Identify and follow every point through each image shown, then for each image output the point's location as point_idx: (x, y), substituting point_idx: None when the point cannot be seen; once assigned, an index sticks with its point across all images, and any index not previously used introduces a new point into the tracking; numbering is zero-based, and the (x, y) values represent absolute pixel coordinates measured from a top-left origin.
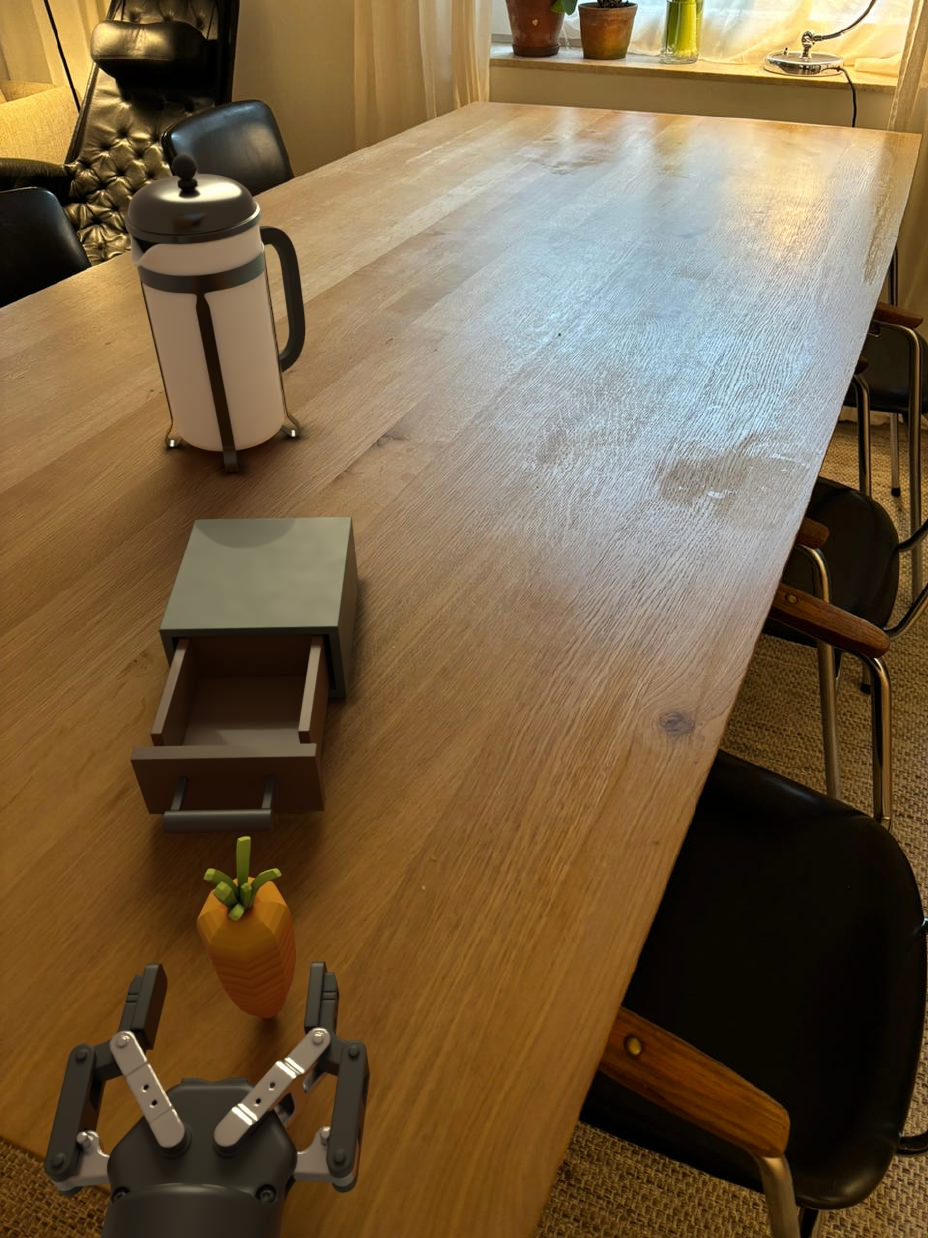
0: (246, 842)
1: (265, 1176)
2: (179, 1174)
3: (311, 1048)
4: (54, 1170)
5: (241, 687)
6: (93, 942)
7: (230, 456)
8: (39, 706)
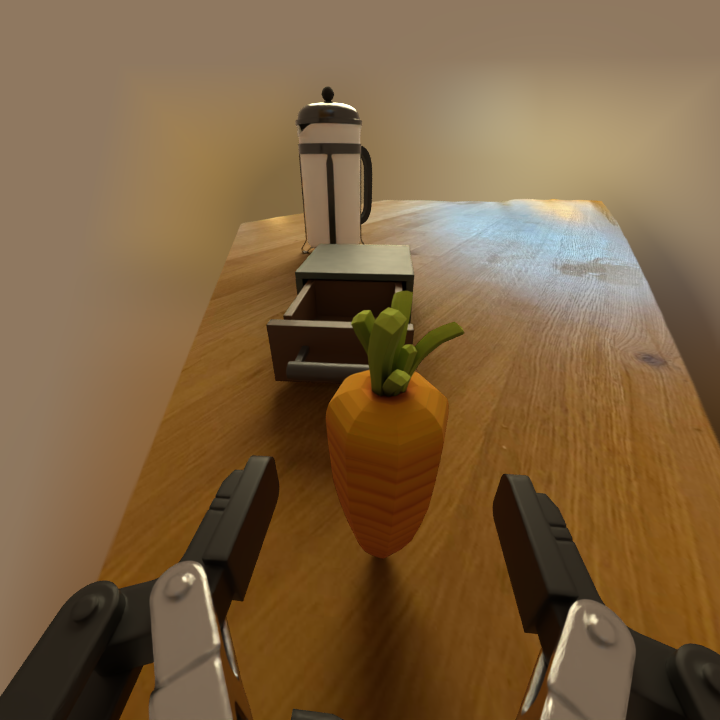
0: (407, 295)
1: None
2: None
3: (599, 656)
4: None
5: (343, 320)
6: (215, 466)
7: None
8: (215, 329)
